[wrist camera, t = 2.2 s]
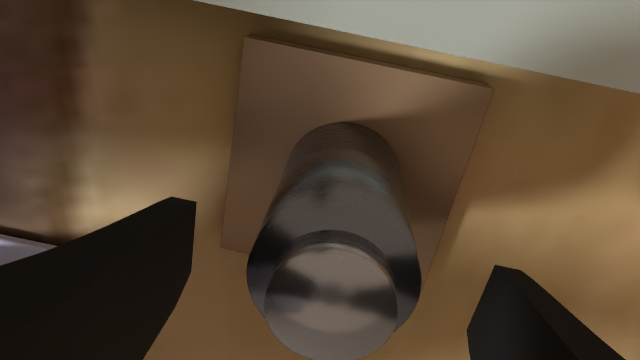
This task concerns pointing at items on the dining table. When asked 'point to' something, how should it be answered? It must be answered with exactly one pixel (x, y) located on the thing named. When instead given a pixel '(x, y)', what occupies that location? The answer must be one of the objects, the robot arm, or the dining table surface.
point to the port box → (490, 31)
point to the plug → (336, 247)
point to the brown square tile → (355, 107)
